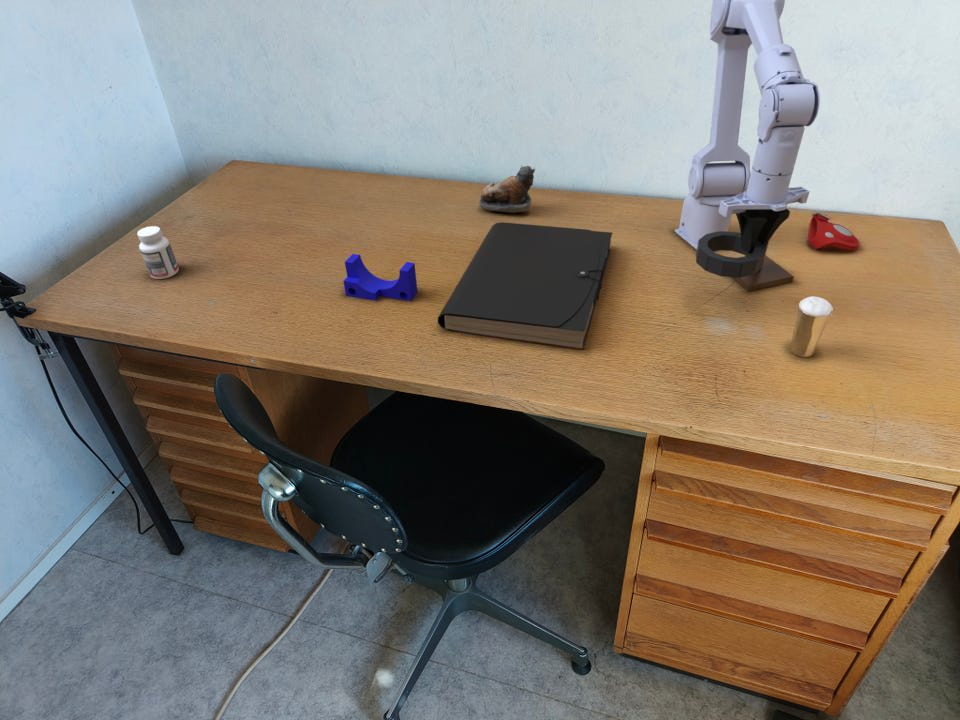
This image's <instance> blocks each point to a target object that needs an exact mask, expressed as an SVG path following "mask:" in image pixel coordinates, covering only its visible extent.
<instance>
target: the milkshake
mask: <svg viewBox="0 0 960 720" xmlns="http://www.w3.org/2000/svg"><path fill="white" fill-rule="evenodd" d="M838 307H839V305H837V306H836V307H835V308H834V307H833V306H832V304H831V302H830V301H828V300H826V299H825V298H823V297H821V296H814V295H811V296H808V297H805V298H803V299H802V300H800V302H799V304H798V308H797V313H796V318H795V323H794V327H793V332H792V336H791V341H790V345H789V350H790V352H791V353H792V354H793V355H795V356H796V357H801V358H809V357H811V356H812V355H813V354H814V352H815V350H816V348H817V346H818V343H819V341H820V339H821V337H822V335H823V332H824V330H825V328H826V327H827V325H828V323H829V320H830V319H831V317H832V314H833V312H834V311H835V310H837V308H838Z"/></svg>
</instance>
